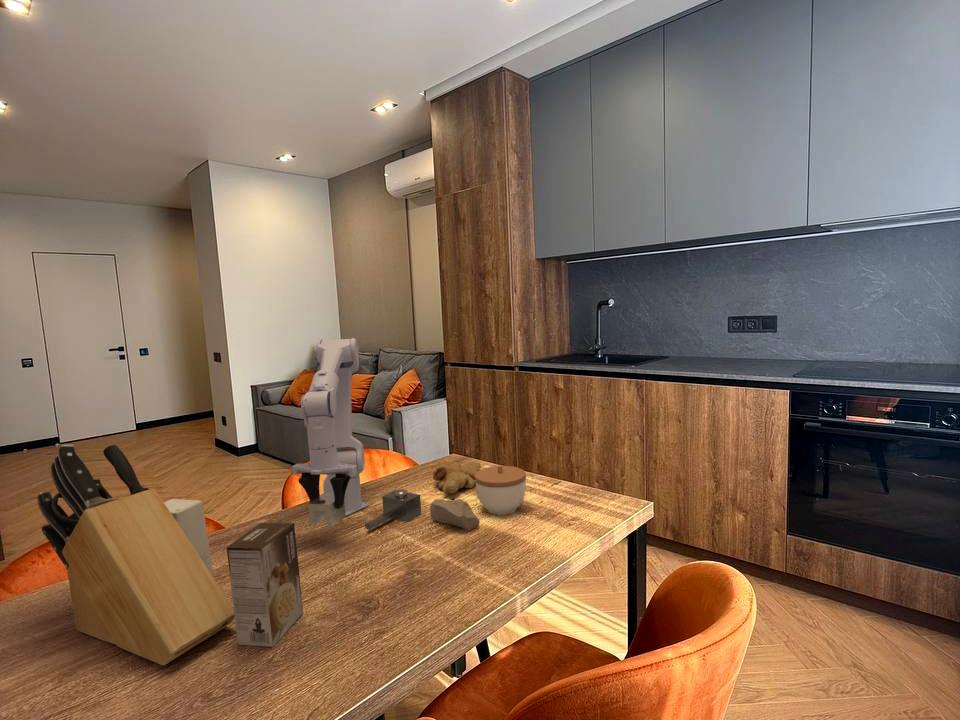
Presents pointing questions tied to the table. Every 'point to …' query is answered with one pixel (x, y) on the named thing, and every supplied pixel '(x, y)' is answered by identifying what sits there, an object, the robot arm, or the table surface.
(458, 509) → the concrete fragment
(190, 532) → the skincare box
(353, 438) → the robot arm
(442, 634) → the table surface
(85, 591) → the knife block
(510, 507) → the lidded bowl
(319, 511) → the notched block with hole
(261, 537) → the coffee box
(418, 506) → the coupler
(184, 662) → the table surface
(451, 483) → the ginger root
